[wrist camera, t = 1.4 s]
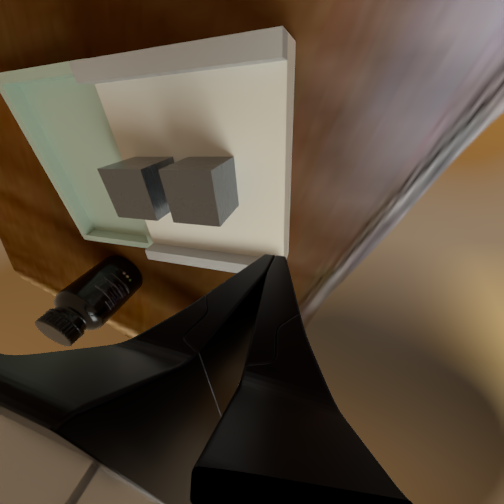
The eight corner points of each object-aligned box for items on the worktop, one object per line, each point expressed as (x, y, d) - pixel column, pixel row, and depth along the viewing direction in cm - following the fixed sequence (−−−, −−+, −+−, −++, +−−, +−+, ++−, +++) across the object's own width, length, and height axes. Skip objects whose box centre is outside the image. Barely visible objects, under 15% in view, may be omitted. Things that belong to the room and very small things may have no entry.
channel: (288, 252, 24) (280, 279, 21) (171, 238, 29) (148, 259, 25) (295, 41, 15) (282, 25, 11) (117, 67, 19) (68, 61, 15)
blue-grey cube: (238, 205, 19) (220, 226, 16) (198, 202, 21) (173, 222, 17) (233, 156, 17) (210, 170, 14) (188, 156, 18) (158, 169, 15)
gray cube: (184, 201, 21) (157, 220, 18) (149, 199, 22) (118, 217, 19) (173, 156, 19) (140, 169, 16) (134, 156, 20) (97, 168, 17)
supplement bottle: (128, 290, 39) (62, 352, 30) (99, 259, 36) (17, 317, 27) (152, 283, 36) (86, 351, 26) (122, 249, 33) (38, 311, 24)
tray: (165, 241, 29) (156, 249, 28) (96, 232, 33) (84, 239, 31) (106, 61, 19) (85, 58, 17) (14, 75, 22) (-11, 74, 21)
